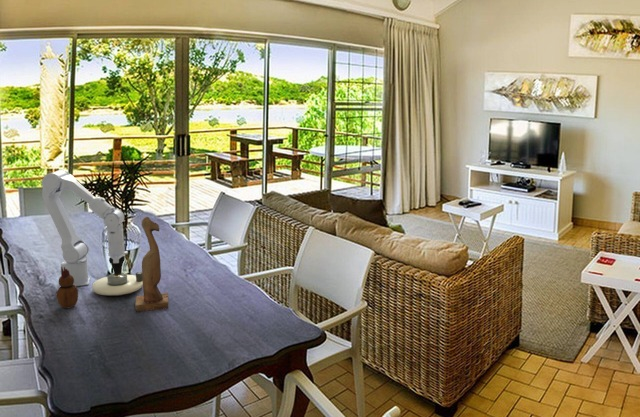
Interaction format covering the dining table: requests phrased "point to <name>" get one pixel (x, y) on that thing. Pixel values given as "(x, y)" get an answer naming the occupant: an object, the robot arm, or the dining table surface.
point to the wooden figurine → (67, 290)
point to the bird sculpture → (151, 273)
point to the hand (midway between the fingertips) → (118, 275)
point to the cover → (117, 279)
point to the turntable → (131, 286)
